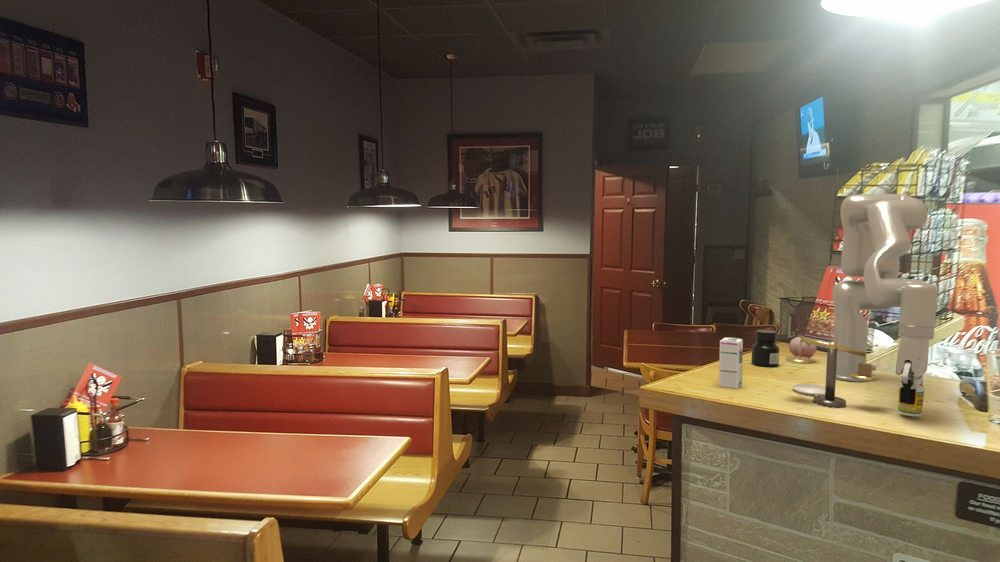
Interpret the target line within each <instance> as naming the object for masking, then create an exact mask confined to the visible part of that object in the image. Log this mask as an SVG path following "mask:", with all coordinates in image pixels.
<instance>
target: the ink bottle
mask: <svg viewBox="0 0 1000 562" xmlns="http://www.w3.org/2000/svg"><path fill="white" fill-rule="evenodd" d="M777 333H778V332H777V331H776V330H771V329H756V330H755V342H754V343H753V344H752V346H751V364H752V365H754V366H758V367H766V368H767V367H768V368H774V367H778V366H779V365H780V364H779V363H780V361H779V360H780V347H779V346H778V345H777V337H778V334H777Z"/></svg>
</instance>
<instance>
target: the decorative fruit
mask: <svg viewBox="0 0 1000 562" xmlns="http://www.w3.org/2000/svg"><path fill="white" fill-rule="evenodd" d="M801 337H805V334H804V333H803V334H802V335H797V336H796V337H794V338H793V339H791V340H790V342H789V345H788V349H789V352H790V354H792V356H799V346H800V341H801ZM816 352H817V345H813V344H809V343H805V342H802V345H801V357H807V358H811V359H812V358H813V356H814V355H815V353H816Z"/></svg>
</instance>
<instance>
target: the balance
mask: <svg viewBox="0 0 1000 562" xmlns="http://www.w3.org/2000/svg"><path fill="white" fill-rule="evenodd" d="M802 342H805V343H809V344H813V345H816V347H817V346H818V347H821V348H827V349H826V350H827V351H826V352H827V353H826V368H825V385H824V386H825V395H818V396H812V397H813V400H812V401H813V404H815V403H817V404H819V405H818V406H820V405H823V406H822V407H825V406H828V407H827V408H832V407H836V408H837V409H838V408H839V409H840V408H841V407H842V408H845V406H847V400H846V399H844V398H841V397H838V396H836V384H837V383H836V381H837V379H836V366H837V350H838V351H842V352H847V353H851V354H855V355H859V356H863V357H864V363H858V372H852V373H850V374H849V376H850V377H852V378H855V379H859V380H867V381H866V382H872V381H873V382H874V381H880V378H881V377H880V376H879V375H878V374H874V373H872V372H873V371H872V365H873V364H871V363H867V360H868V359H867V358H868V357H867V352H865V351H860V350H856V349H852V348H848V347H844V346H839V345H837V343H835V342H833V341H830V342H826V341H822V340H817V339H815V338H814V339H813V338H809V337H806V336H804V337H801V341H800V346H799V356H794V355H790V356H786V358H785V361H786V362H789V363H793V364H802V365H805V364H807V365H809V364H814V363H815V360H814V359H813V358H812V357H811V358H807V357H801V345H802ZM865 356H866V357H865ZM817 404H816V405H817ZM836 408H835V409H836Z"/></svg>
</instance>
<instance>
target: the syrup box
mask: <svg viewBox="0 0 1000 562" xmlns="http://www.w3.org/2000/svg"><path fill="white" fill-rule="evenodd" d="M743 345H744V340H743V339H742V338H738V337H723V338H722V339H721V340H719V356H718V357H719V363H718V364H719V365H718V367H719V368H718V386H719V387H721V388H729V389H737V390H738V389H739V388H740V387H741V386H742V383H743V356H744V355H743V353H744V352H743V350H744V349H743V347H744V346H743Z"/></svg>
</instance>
